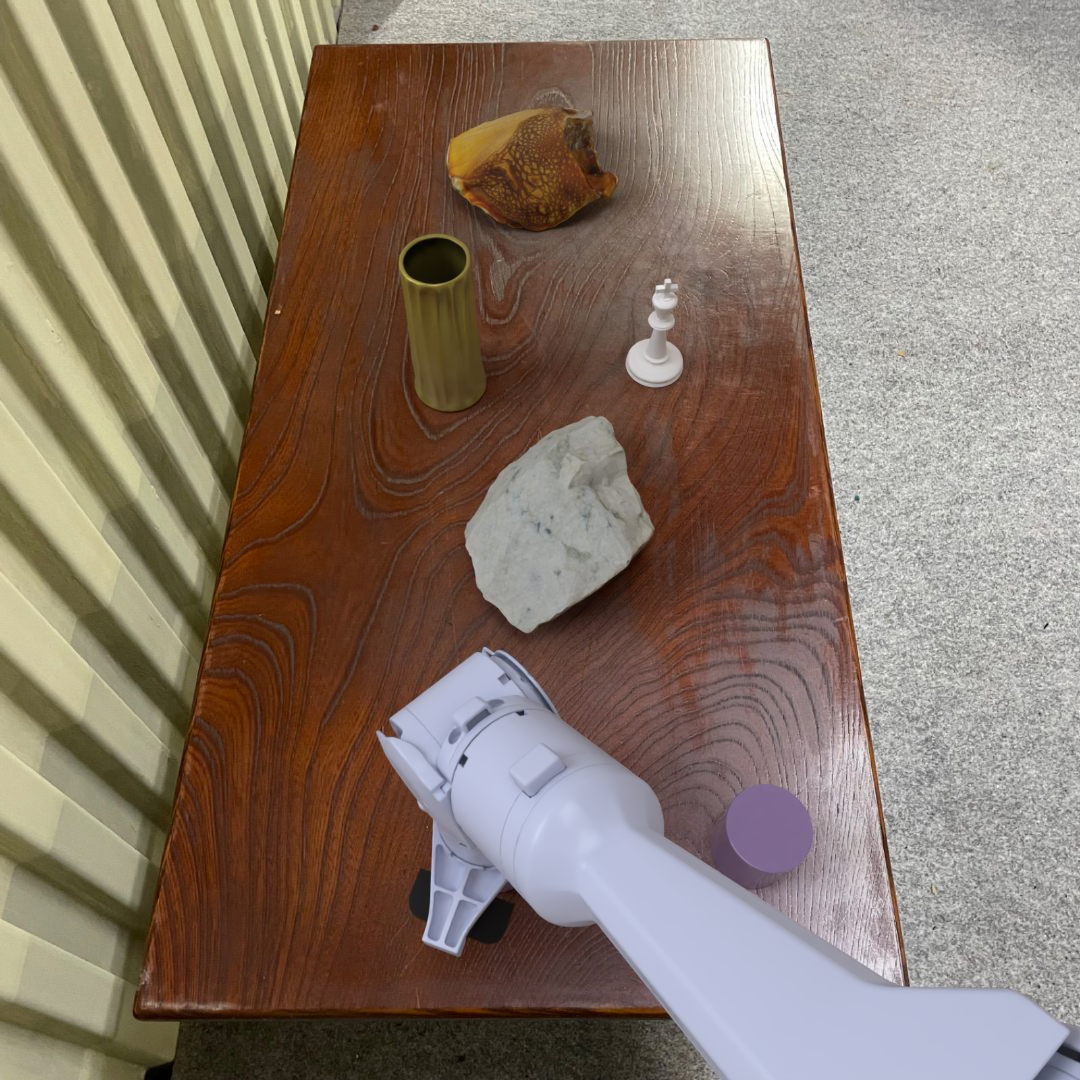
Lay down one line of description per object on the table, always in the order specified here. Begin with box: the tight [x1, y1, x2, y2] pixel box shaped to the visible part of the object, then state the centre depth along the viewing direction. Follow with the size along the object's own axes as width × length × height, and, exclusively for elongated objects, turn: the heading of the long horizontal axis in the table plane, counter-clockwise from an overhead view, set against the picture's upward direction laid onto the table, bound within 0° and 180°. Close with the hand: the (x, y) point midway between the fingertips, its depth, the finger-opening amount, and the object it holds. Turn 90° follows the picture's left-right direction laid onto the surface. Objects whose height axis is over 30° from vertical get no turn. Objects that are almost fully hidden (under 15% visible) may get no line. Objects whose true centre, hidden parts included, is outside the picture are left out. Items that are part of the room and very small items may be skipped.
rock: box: [464, 415, 656, 635], centre depth 69 cm, size 15×16×8 cm
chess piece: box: [625, 278, 684, 388], centre depth 76 cm, size 5×5×10 cm
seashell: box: [445, 104, 620, 232], centre depth 89 cm, size 17×8×15 cm
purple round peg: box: [710, 783, 814, 890], centre depth 59 cm, size 5×5×6 cm
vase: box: [398, 233, 488, 413], centre depth 74 cm, size 6×6×14 cm
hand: (495, 845), depth 60 cm, fingers open, 7 cm apart
